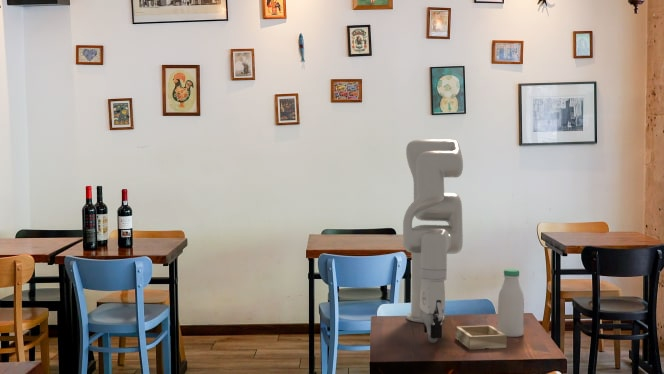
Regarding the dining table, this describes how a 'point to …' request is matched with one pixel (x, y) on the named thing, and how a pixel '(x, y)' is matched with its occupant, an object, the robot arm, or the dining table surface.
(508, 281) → the milk bottle
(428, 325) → the lightbulb
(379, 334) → the dining table surface
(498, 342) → the holder
